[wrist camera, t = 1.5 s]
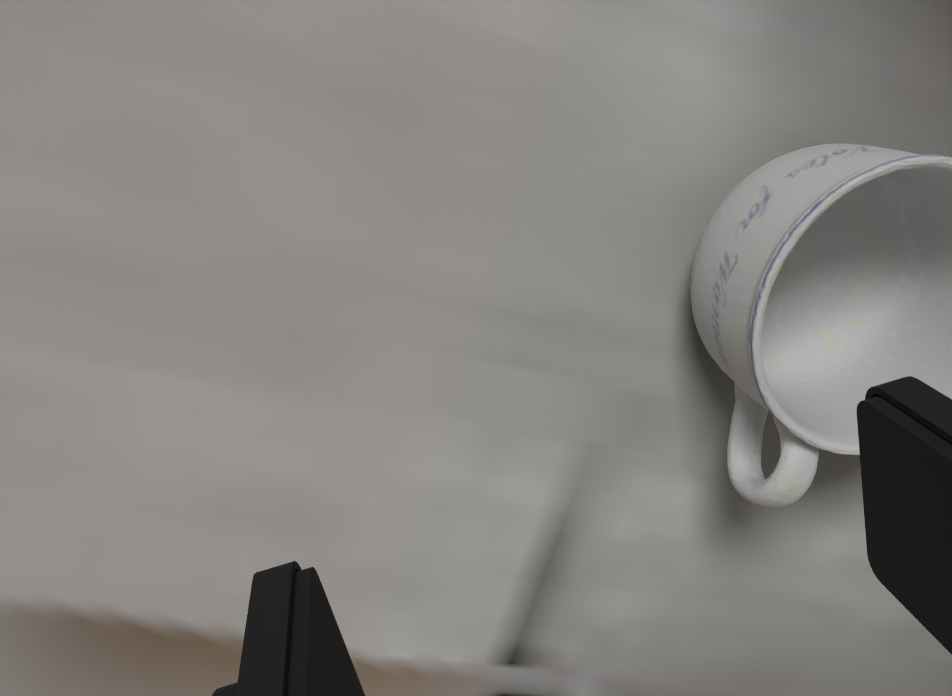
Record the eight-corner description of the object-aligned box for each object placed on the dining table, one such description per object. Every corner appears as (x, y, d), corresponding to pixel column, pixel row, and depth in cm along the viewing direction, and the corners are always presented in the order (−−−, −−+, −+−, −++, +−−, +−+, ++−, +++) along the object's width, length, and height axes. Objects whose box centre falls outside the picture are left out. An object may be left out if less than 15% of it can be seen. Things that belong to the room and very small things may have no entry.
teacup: (777, 74, 33) (905, 87, 26) (953, 221, 36) (1111, 271, 29) (569, 360, 36) (630, 446, 28) (750, 471, 39) (847, 573, 32)
